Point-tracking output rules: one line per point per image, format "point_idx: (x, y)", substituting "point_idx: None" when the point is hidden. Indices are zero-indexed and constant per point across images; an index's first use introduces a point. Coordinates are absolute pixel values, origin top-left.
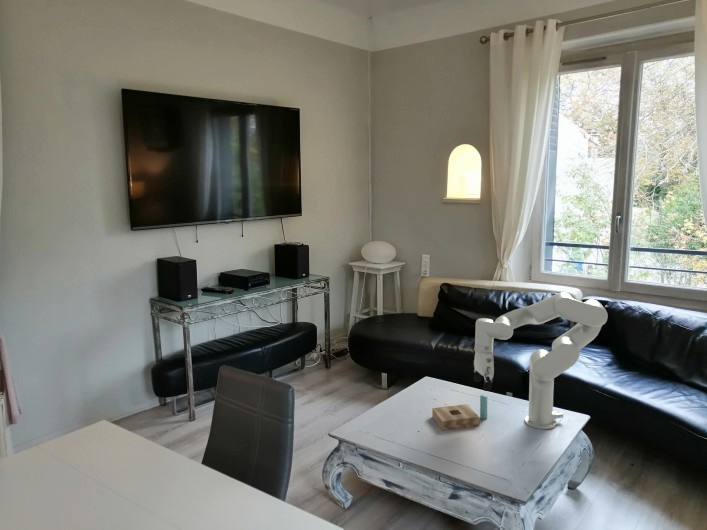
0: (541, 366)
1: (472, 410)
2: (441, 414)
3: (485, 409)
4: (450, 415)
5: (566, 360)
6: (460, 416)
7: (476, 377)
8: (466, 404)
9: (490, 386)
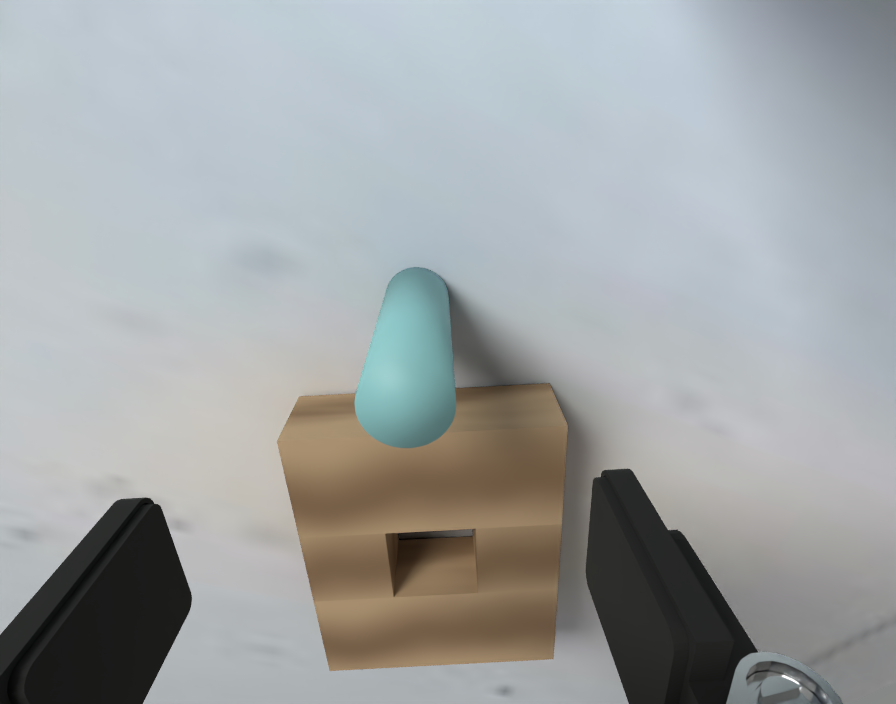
0: None
1: None
2: (445, 645)
3: (450, 329)
4: (477, 602)
5: None
6: (513, 550)
7: (139, 674)
8: (282, 445)
9: (661, 540)
